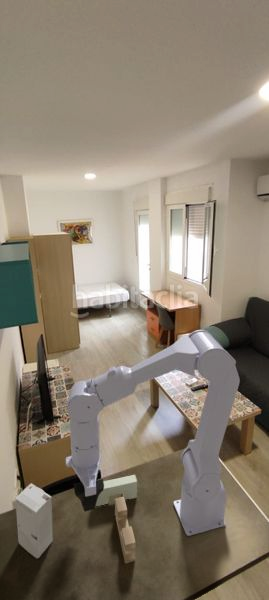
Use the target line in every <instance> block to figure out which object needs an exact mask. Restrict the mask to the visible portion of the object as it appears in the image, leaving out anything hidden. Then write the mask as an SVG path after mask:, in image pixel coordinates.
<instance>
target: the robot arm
mask: <svg viewBox="0 0 269 600" xmlns="http://www.w3.org/2000/svg"><path fill="white" fill-rule="evenodd" d="M236 363H237V361H236V359H234V357H233V356H232V355H231V354H230V353H229V352H228V351H227V350H225V348H223V346H222V345H221V343H220V342H219V341H218V340H217V338H215V336H214V335H212V333H210V332H209V331H207V330H206V329H205V330H204V329H198V330H197V329H196V330H194V331H192V332H191V333H189V334H186V335H182V336H180V337H179V338H178V339H177V340H176V341H175V342H174V343H173V344H172V345H170V346H168V347H166V348H165V349H162V350H160V351H159V352H156V353H155V354H153V355H151V356H149V357H148V358H146V359H144V360H142V361H140V362H139V363H137V364H135V365H133V366H131V367H128V366H125V365H120V366H118V367H116V366H114V365H113V366H111V367H110V368H108V370H107V371H106V372H104V373H102V374H100V375H98V376H96V377H94V378H88V379H87V380H79V381H77V382H75V383H74V384H73V385H72V387H71V388H70V390H69V397H68V402H67V406H66V407H67V409H66V410H67V415H68V417H69V418H70V420H69V433H70V435H69V436H70V455H69V456H66V458H65V466H66V468H72V469H73V471H74V472H75V474H76V475H77V477H78V478H79V480H80V481H79V482H75V483H73V489H74V494H75V497H77V498H78V499H79V501H80V503H81V505H82V509H83V511H84V512H88V511H89V512H90V511H93V510H95V508H96V502H97V499H98V496H99V495H100V493H101V492H102V491H103V489H104V482H103V481H104V479H103V478H101V479H97V478H98V473H99V469H100V465H101V462H102V461H101V460H102V454H101V451H100V450H101V449H100V448H101V446H100V441H101V439H100V417H99V414H100V412H101V411H104V408H105V407H108V406H110V405H112V404H114V403H117V402H118V401H119V402H120V401H121V400H123V399H125V398H128V397H129V396H131V395H133V394H135V392H136V389H137V387H138V385H141V384H143V383H145V382H148V381H151V380H153V379H156V378H158V377H161V376H163V375H167V374H169V373H171V372H173V371H179V372H181V373H184V374H187V375H189V376H192V377H195V376H196V372H195V371H197V373H198V374H199V376H201V377H202V378H203V379H204V380H207V381H209V383H208V388H207V391H206V396H205V398H204V402H203V407H202V410H201V414H200V418H199V422H198V426H197V428H196V429H197V430H196V432H195V436H194V439H189V441H188V443H187V445H186V448H184V450H183V451H182V452H181V456H180V461H181V464H182V465H183V468H184V474H183V475H182V480H181V481H182V482H181V483H182V484H181V493H180V494H181V495H180V499H177V500H174V501H173V506H174V508H175V511H176V514H177V516H178V518H179V521H180V523H181V526H182V527H183V530H184V532H185V534H186V536H193V535H197V534H200V533H205V532H207V531H208V532H209V531H211V530H215V529H218V528H221V527H225V526H226V521H225V514H226V506H227V493H226V489H225V486H224V485H223V482H222V480H221V476H222V468H221V463H220V456H219V454H220V450H221V447H222V444H223V440H224V437H225V433H226V430H227V427H228V423H229V420H230V416H231V413H232V410H233V406H234V403H235V399H236V396H237V393H238V390H239V386H240V376H239V373H238V370H237V369H238V368H237V367H236Z"/></svg>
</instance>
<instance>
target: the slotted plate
mask: <svg viewBox="0 0 269 600" xmlns="http://www.w3.org/2000/svg"><path fill="white" fill-rule="evenodd" d="M136 476H137V475H136V474H132V475H131V474H130V475H126V476H123V477H118V478H112V479H109V480H103V482H104V489H103V491H102V492H101V493H100V495H99V496H98V499H97V502H96V506H99V507H101V506H100V505H104V504H108V503H109V504H110V496H117V495H119V494H121V495H122V494H123V495H122V497H123V496H124V499H125V501H127V500H126V499H129V500H132V499H136V498H138V479H137V477H136ZM109 504H108V505H109ZM96 506H95V507H96ZM104 506H105V505H104Z"/></svg>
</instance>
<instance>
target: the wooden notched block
mask: <svg viewBox="0 0 269 600" xmlns="http://www.w3.org/2000/svg"><path fill="white" fill-rule="evenodd" d="M115 516H116V517H115ZM114 517H115V521H116V526H117V531H118V536H119V541H120V546H121V551H122V555H123V559H124V563H125V564H129V563H132V562H135V561H136V546H137V545H136V543H137V542H136V539H135V535H134V531H133V527H132V525H130V524H129V521H128V507H127V504H126V500H125V499H124V496H123V495H122V496H120V497H117V498H116V497H115V498H114Z"/></svg>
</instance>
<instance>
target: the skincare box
mask: <svg viewBox="0 0 269 600" xmlns="http://www.w3.org/2000/svg"><path fill="white" fill-rule="evenodd" d="M52 499H53V498H52V496H51V495H50V494H48V493H46V492H45V491H44V490H43V489H42V488H41V487H38V486H36V485H35V484H33V483H29V485H27V486H26V487H25V488H24V489H23V490H22V491H21V492H20V493H19V494H18V495H17V496H16V497H15V512H16V525H17V539H18V543H19V545H20V546H21V547H22V548H23V549H24V550H26V552H28V553H29V554H30V555H31V556H33V557H34V558H35V559H39V558H40V557H41V556H42V554H43V553H45V552H46V550H47V549H48V547H49V546H50V545H51V544H52V542H53V541H54V540H53V508H52V507H53V505H52Z"/></svg>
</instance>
